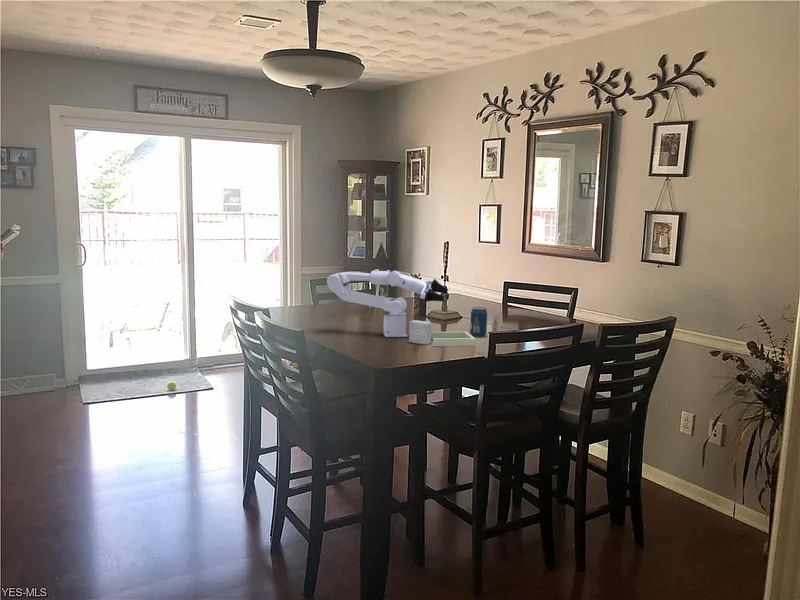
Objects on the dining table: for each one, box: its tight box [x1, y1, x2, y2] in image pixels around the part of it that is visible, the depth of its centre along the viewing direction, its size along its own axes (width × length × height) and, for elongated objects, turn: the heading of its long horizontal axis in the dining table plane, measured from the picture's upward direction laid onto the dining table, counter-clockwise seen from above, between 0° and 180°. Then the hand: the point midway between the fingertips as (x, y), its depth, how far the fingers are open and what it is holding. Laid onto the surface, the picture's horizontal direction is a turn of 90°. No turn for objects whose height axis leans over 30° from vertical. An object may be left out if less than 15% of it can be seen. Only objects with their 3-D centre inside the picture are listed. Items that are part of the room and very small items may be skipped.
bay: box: [431, 331, 477, 348], centre depth 258 cm, size 17×14×3 cm
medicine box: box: [408, 319, 432, 345], centre depth 256 cm, size 8×4×9 cm, turn 59°
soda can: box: [469, 306, 488, 338], centre depth 272 cm, size 7×7×12 cm
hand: (445, 295), depth 263 cm, fingers open, 7 cm apart
